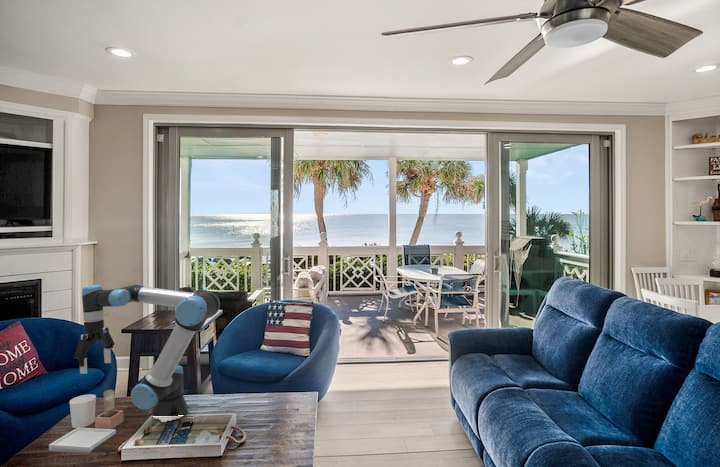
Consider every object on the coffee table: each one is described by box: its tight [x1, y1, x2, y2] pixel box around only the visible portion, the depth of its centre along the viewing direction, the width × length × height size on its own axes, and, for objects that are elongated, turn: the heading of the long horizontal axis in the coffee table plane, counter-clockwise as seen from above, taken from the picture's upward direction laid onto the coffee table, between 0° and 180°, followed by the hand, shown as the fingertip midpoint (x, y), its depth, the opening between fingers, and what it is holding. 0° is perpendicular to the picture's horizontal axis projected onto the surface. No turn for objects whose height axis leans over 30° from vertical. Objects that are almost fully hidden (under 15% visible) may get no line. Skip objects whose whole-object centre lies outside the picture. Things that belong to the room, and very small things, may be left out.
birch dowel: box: [103, 389, 116, 417], centre depth 178 cm, size 4×4×15 cm
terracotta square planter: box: [94, 409, 125, 429], centre depth 178 cm, size 8×8×6 cm
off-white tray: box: [48, 427, 117, 454], centre depth 165 cm, size 18×14×2 cm
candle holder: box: [69, 394, 97, 429], centre depth 180 cm, size 10×10×12 cm
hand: (96, 367), depth 179 cm, fingers open, 13 cm apart
